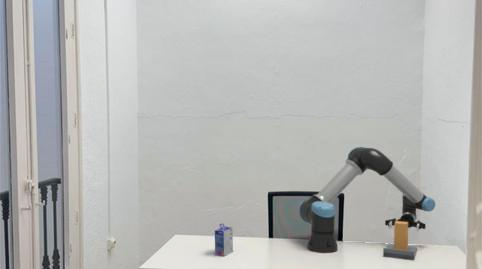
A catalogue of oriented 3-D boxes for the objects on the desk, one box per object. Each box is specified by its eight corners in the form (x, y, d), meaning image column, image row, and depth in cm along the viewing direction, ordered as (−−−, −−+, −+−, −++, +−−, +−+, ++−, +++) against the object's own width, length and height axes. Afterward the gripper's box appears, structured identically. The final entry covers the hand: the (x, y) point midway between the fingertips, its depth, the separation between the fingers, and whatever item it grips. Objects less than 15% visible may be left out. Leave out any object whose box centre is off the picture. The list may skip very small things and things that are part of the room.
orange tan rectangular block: (394, 249, 230) (394, 223, 230) (395, 246, 236) (395, 220, 235) (406, 250, 228) (407, 224, 227) (407, 247, 233) (408, 222, 233)
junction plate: (383, 256, 224) (383, 242, 223) (388, 247, 242) (388, 233, 242) (413, 260, 218) (414, 245, 218) (416, 250, 236) (417, 236, 236)
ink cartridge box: (223, 250, 231) (223, 221, 231) (233, 251, 228) (233, 222, 228) (214, 255, 222) (214, 225, 222) (224, 256, 219) (224, 226, 219)
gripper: (431, 229, 252) (429, 237, 233) (384, 224, 263) (378, 232, 243) (431, 215, 252) (429, 222, 233) (384, 211, 263) (378, 217, 243)
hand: (403, 227), depth 238 cm, fingers open, 13 cm apart
